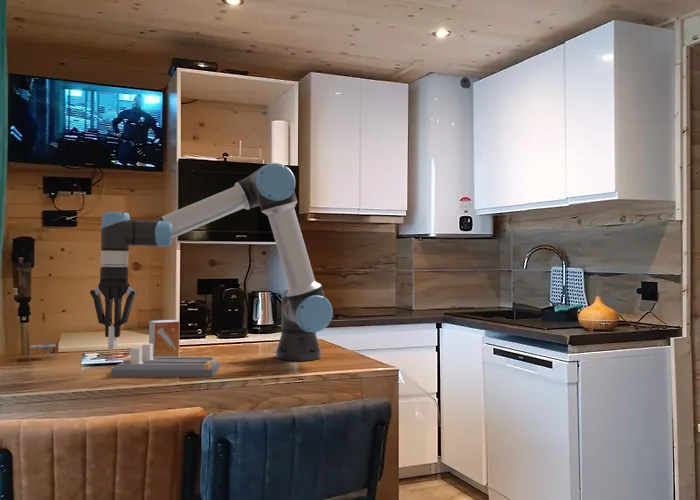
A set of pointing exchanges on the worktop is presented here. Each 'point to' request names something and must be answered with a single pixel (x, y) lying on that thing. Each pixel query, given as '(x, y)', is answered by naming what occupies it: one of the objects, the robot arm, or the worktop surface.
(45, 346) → the building frame
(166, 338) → the small box
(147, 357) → the tab
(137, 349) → the tab
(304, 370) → the worktop surface
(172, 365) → the switch board
